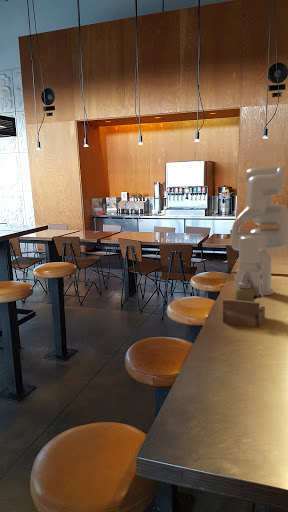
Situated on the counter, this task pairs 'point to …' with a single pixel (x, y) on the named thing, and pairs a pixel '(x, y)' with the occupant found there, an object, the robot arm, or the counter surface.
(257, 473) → the counter surface
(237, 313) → the walnut holder
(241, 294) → the squeeze bottle
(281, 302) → the counter surface
